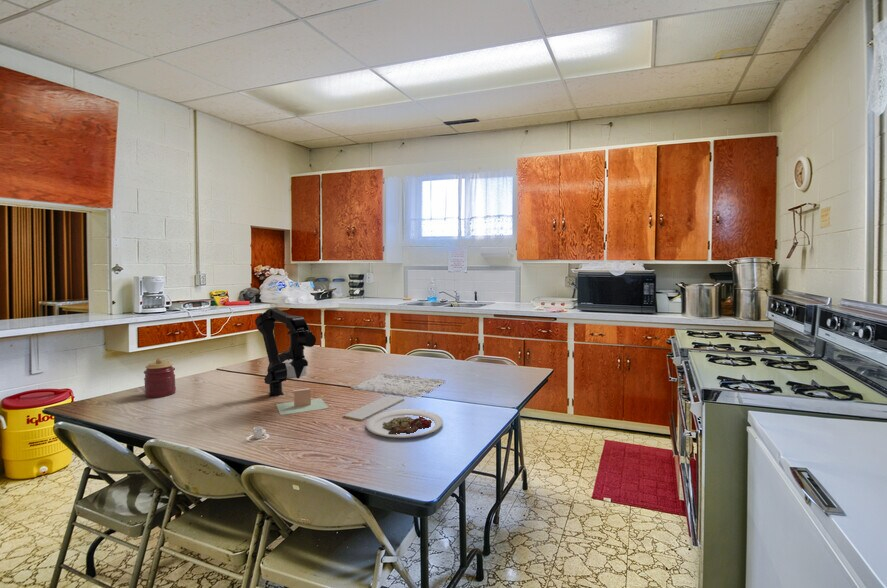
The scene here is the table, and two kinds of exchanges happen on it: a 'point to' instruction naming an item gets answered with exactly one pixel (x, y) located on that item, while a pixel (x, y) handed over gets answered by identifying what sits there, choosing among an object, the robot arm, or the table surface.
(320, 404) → the mat
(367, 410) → the baseboard
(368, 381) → the carpet tile
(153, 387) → the canister
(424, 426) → the plated food
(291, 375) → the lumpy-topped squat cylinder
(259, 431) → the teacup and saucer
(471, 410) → the table surface
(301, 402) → the tile
